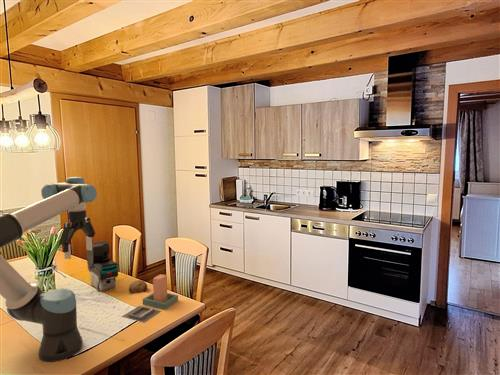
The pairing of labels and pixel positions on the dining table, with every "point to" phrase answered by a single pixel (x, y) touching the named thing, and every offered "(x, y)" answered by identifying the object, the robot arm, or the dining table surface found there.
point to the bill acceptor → (101, 267)
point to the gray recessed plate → (141, 314)
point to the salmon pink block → (160, 288)
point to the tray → (150, 302)
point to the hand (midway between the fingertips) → (79, 254)
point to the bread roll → (137, 287)
